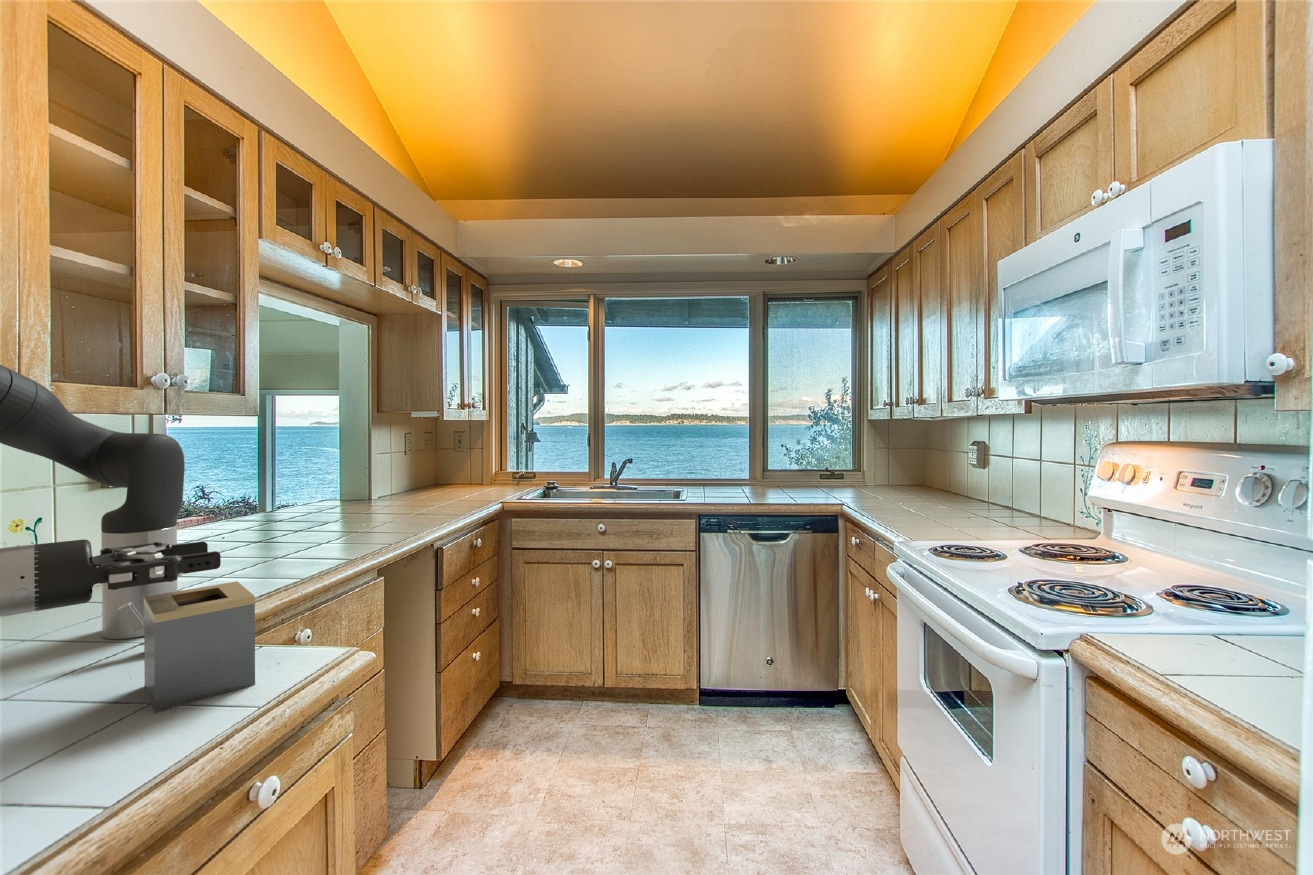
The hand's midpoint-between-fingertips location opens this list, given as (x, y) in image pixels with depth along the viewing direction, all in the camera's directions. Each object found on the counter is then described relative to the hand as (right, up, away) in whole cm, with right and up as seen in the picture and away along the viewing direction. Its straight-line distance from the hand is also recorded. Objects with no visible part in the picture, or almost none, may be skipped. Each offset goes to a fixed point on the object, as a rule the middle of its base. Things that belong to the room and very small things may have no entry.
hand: (213, 553), depth 73 cm
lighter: (-17, -17, +10) cm, 26 cm away
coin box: (-1, -18, -1) cm, 18 cm away
